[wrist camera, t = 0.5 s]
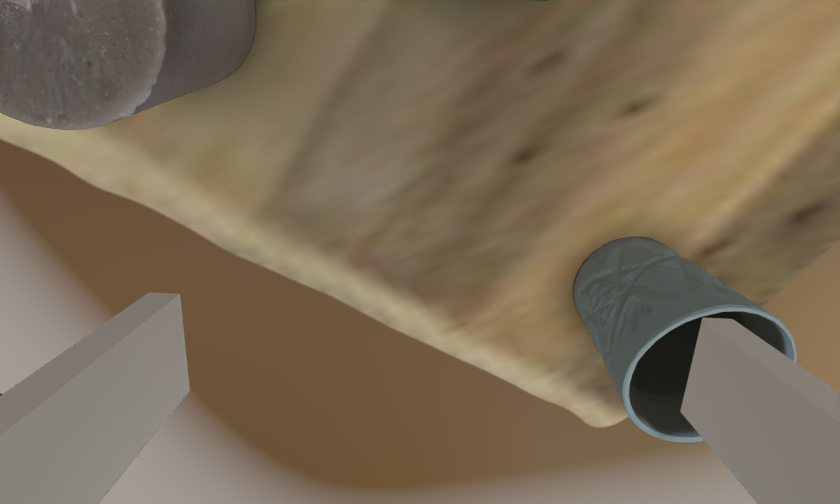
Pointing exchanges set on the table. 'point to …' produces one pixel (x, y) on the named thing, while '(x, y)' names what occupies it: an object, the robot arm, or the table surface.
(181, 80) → the pillar candle
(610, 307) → the grey plant pot
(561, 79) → the table surface
